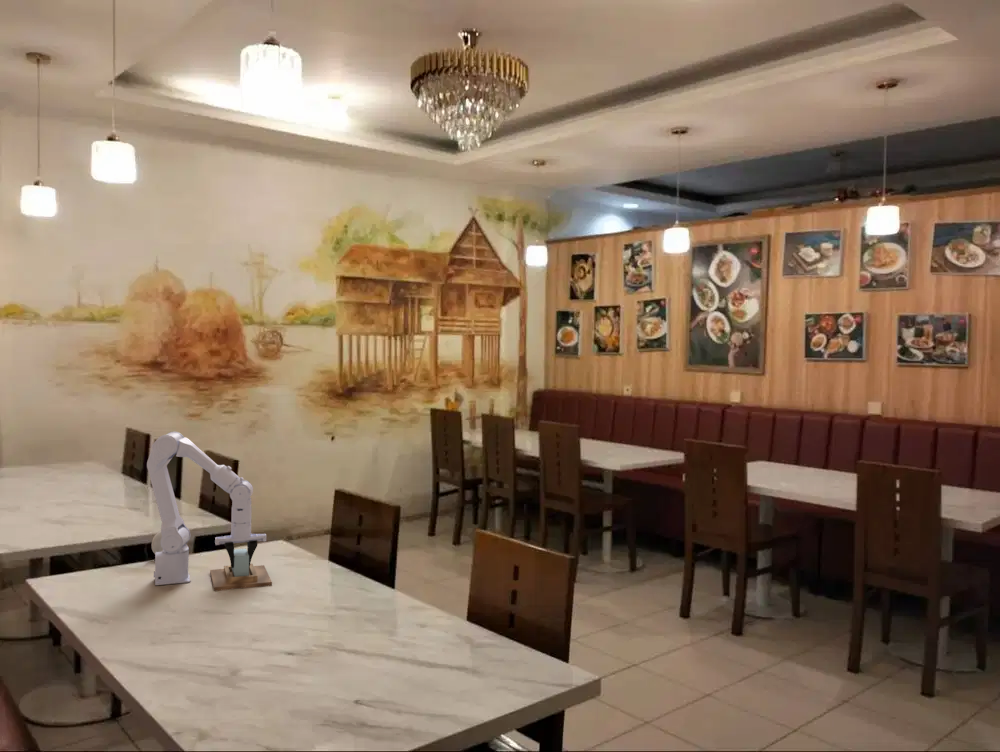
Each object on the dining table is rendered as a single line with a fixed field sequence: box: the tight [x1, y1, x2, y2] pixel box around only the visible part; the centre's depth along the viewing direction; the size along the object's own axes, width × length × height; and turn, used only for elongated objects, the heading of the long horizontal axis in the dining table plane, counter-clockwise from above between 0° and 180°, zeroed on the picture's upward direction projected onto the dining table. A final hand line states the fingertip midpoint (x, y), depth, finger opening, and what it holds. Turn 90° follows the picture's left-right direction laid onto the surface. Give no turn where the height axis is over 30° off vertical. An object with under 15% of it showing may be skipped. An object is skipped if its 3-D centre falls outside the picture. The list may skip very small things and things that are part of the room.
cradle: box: [209, 563, 273, 592], centre depth 226 cm, size 16×18×2 cm
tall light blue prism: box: [232, 548, 249, 577], centre depth 227 cm, size 4×9×6 cm, turn 25°
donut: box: [151, 529, 162, 555], centre depth 246 cm, size 10×4×10 cm, turn 139°
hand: (240, 566), depth 226 cm, fingers closed on tall light blue prism, 4 cm apart
